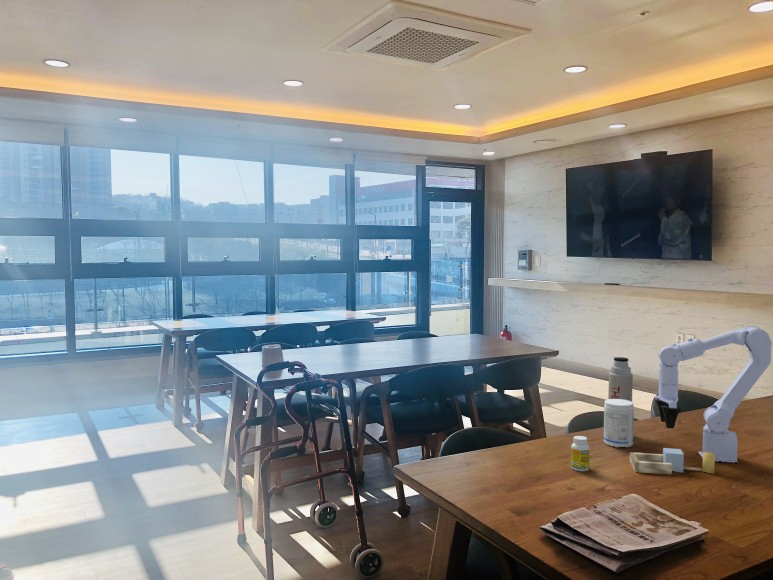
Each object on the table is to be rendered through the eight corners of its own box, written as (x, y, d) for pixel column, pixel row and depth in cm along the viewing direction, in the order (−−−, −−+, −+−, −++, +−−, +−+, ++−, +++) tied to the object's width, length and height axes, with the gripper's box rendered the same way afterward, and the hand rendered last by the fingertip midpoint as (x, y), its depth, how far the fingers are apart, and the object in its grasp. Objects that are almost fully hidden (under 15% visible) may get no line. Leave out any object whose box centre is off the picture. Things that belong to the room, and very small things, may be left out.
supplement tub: (613, 438, 222) (614, 397, 221) (638, 444, 214) (639, 402, 213) (597, 443, 216) (598, 401, 215) (623, 450, 208) (624, 406, 207)
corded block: (712, 469, 190) (712, 451, 189) (716, 475, 185) (716, 456, 185) (662, 465, 194) (663, 447, 193) (665, 470, 189) (665, 452, 188)
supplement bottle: (578, 464, 194) (579, 434, 194) (593, 469, 190) (593, 438, 189) (567, 467, 191) (567, 436, 191) (581, 472, 187) (581, 441, 186)
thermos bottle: (619, 439, 220) (621, 360, 218) (602, 433, 227) (604, 356, 225) (636, 436, 223) (638, 358, 222) (619, 431, 231) (620, 355, 229)
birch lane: (664, 463, 195) (664, 454, 195) (671, 474, 186) (671, 464, 185) (629, 461, 197) (629, 452, 197) (635, 471, 188) (635, 462, 188)
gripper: (650, 378, 212) (649, 418, 213) (660, 387, 198) (658, 430, 198) (673, 379, 210) (672, 419, 211) (684, 388, 196) (683, 431, 197)
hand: (667, 424), depth 205 cm, fingers open, 7 cm apart
